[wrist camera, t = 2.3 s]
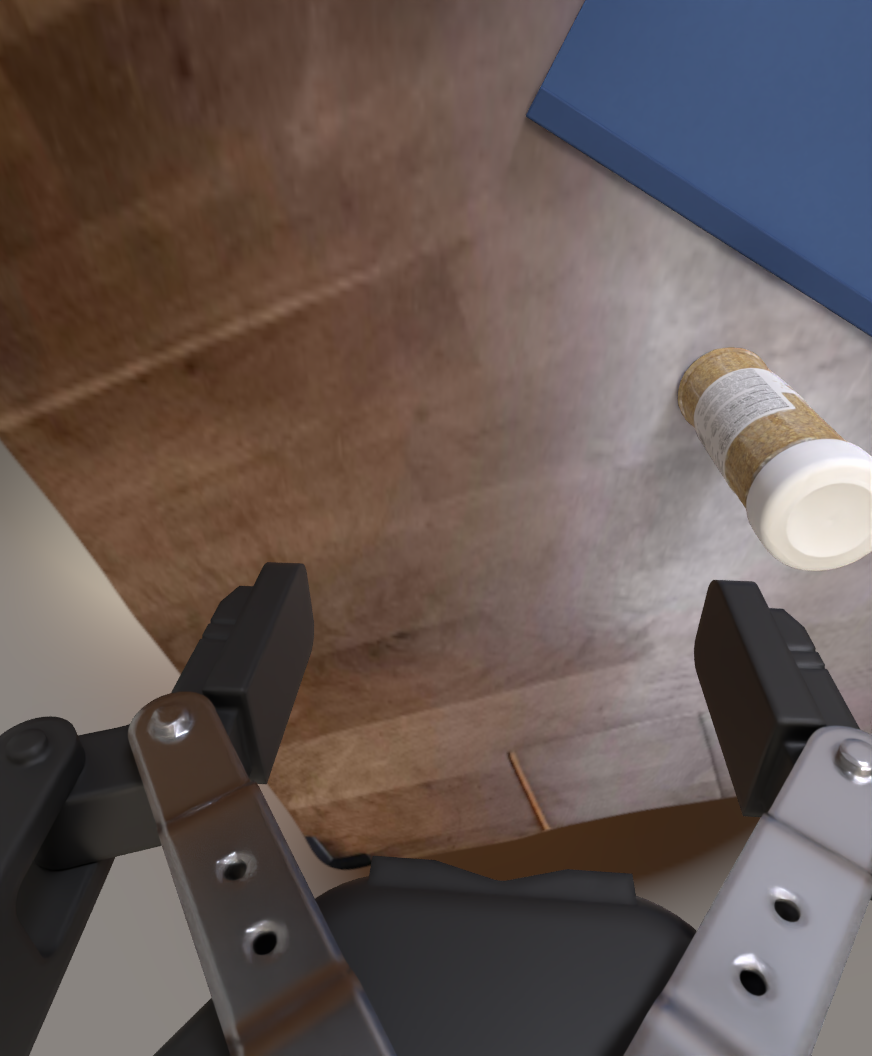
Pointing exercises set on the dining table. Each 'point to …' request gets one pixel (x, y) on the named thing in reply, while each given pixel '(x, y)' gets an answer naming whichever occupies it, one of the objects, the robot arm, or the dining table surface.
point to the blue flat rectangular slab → (735, 126)
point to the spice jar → (781, 461)
